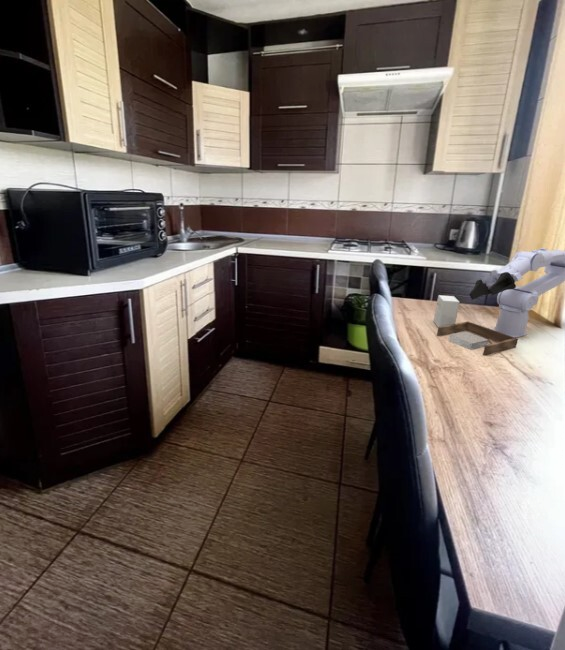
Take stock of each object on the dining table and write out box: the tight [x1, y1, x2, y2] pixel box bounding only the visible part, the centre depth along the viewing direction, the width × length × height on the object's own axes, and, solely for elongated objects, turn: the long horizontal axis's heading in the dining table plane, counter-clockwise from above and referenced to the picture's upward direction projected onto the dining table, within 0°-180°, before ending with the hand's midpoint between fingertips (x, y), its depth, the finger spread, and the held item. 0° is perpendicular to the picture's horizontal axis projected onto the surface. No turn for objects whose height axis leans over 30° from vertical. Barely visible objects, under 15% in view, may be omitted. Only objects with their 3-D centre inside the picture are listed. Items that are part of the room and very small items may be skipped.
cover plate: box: [448, 331, 489, 351], centre depth 112 cm, size 8×8×2 cm
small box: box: [433, 294, 461, 328], centre depth 126 cm, size 8×6×10 cm
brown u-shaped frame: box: [436, 321, 519, 356], centre depth 113 cm, size 15×18×3 cm
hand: (480, 294), depth 107 cm, fingers open, 7 cm apart
